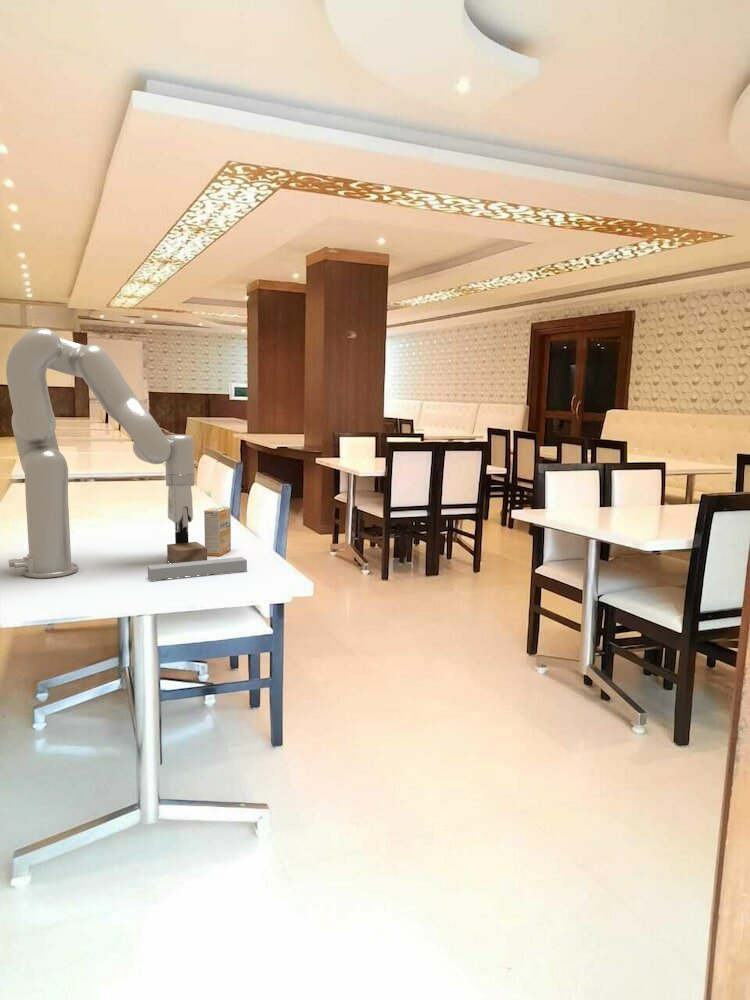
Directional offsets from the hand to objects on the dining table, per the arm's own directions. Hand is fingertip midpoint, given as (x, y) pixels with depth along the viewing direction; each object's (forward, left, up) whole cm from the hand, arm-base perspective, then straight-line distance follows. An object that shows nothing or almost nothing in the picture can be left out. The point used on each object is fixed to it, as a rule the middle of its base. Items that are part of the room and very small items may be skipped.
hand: (182, 545), depth 190 cm
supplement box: (+11, +3, -4) cm, 12 cm away
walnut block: (0, -6, -4) cm, 7 cm away
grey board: (0, -19, -4) cm, 19 cm away
